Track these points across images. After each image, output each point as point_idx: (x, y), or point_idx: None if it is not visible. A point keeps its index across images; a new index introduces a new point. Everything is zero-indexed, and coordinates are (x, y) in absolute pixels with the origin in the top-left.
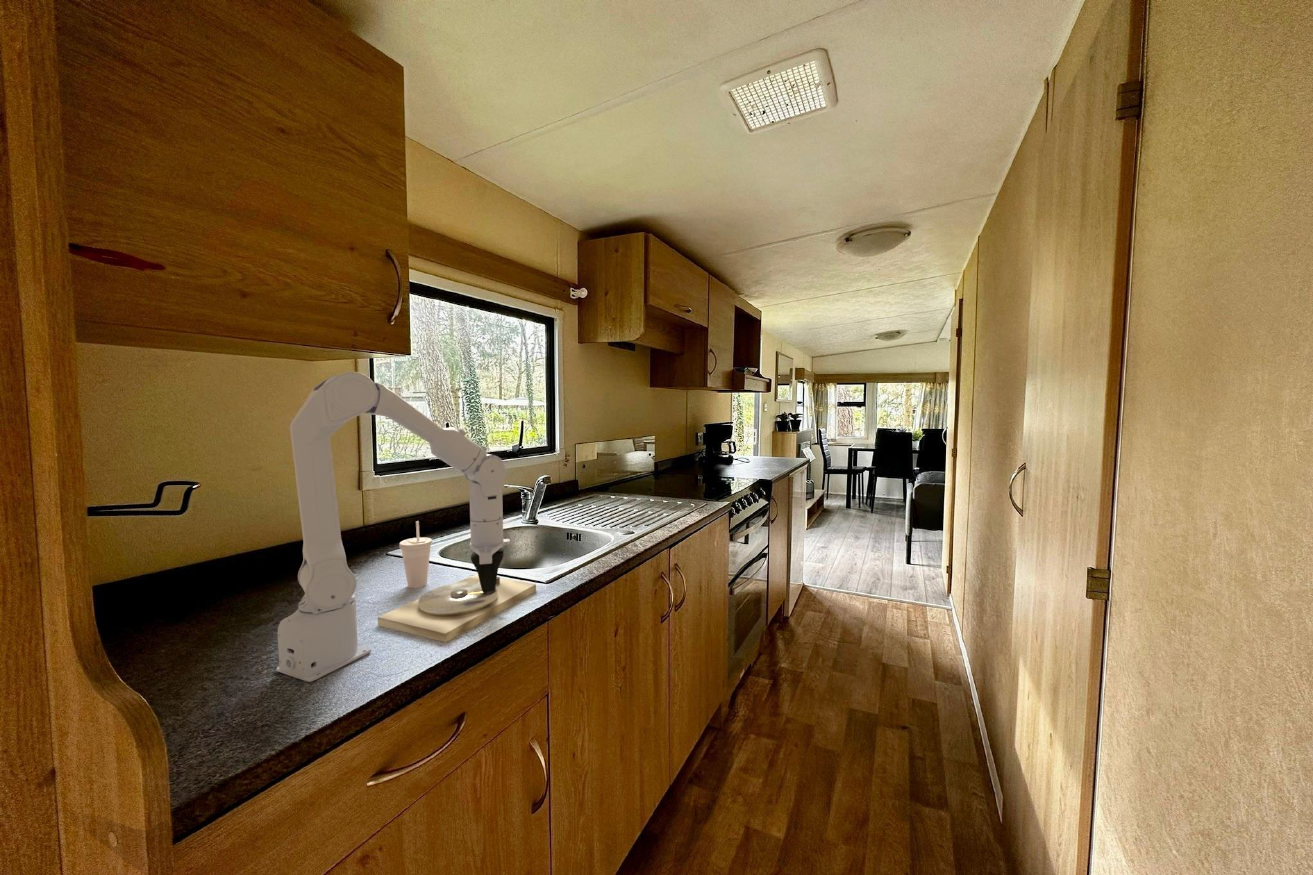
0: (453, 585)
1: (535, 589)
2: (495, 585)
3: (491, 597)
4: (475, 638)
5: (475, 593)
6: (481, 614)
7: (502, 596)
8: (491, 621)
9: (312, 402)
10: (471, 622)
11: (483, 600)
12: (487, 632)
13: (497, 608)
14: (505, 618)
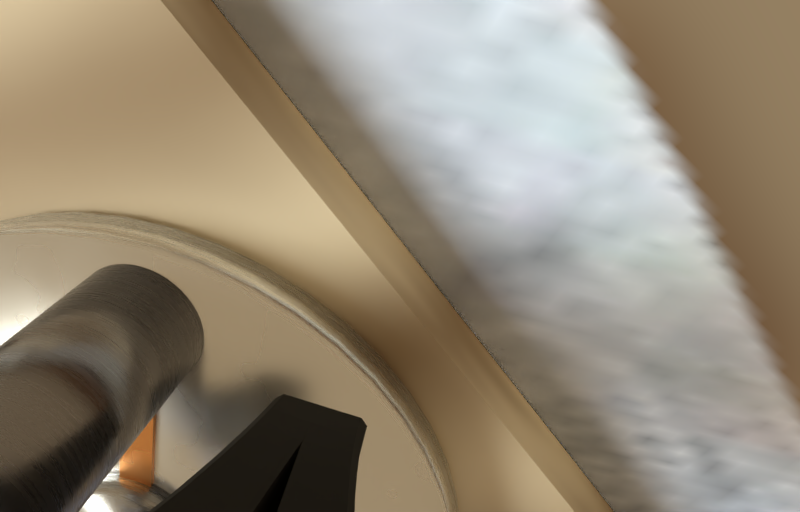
0: None
1: None
2: (353, 456)
3: (307, 352)
4: (795, 501)
5: (154, 435)
6: (520, 438)
7: (179, 178)
8: (556, 334)
9: None
10: (584, 502)
11: None
12: (756, 414)
13: (395, 266)
14: (569, 223)
